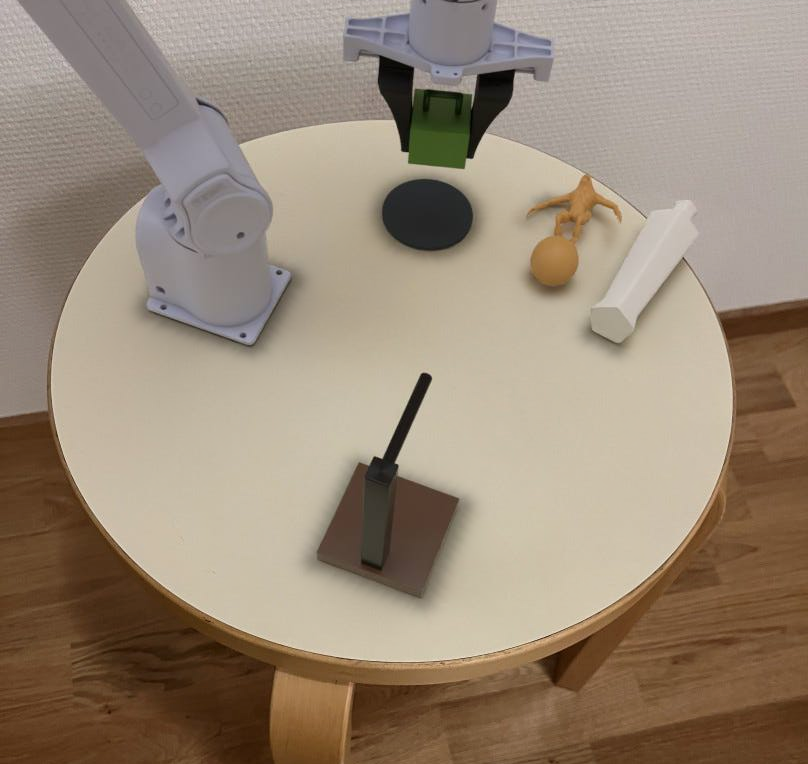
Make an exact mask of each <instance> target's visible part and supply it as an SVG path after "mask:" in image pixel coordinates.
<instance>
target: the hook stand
mask: <svg viewBox="0 0 808 764" xmlns="http://www.w3.org/2000/svg"><path fill="white" fill-rule="evenodd" d="M432 381H433V377H432V375H431V374H430V373H428V372H422V373H420V375H419V377H418V379H417V381H416V383H415V386H414V387H413V389H412V392H411V394H410V397H409V399H408V401H407V402H406V405H405V408H404V409H403V411H402V414H401V416H400V419H399V420H398V423H397V425H396V428H395V430H394V432H393V434H392V436H391V438H390V440H389V443H388V445H387V447H386V449H385V452H384V454H383V456H382V458H381V457H379V456H376V455H374V456H373V457H372V459H371V461H370V462H369V463H370V464H365V463H363V462H360V461H359V462H358V463H357V465H356V467H355V469H354V471H353V474H352V475H351V477H350V480H349V482H348V484H347V487H346V489H345V491H344V492H343V495H342V497H341V499H340V502H339V504H338V505H337V508H336V510H335V512H334V514H333V516H332V518H331V521H330V523H329V525H328V527H327V529H326V531H325V534H324V535H323V538H322V540H321V542H320V544H319V546H318V548H317V551H316V559H317V560H318V561H321V562H325V563H327V564H329V565H332V566H334V567H338V568H339V569H343V570H345V571H348V572H351V573H353V574H356V575H358V576H361V577H364V578H366V579H369V580H372V581H375V582H376V583H380V584H381V585H382V584H383V585H385V586H387V587H390V588H393V589H396V590H398V591H400V592H404V593H407V594H409V595H411V596H414V597H416V598H422V596H423V594H424V591H425V589H426V586H427V584H428V582H429V579H430V577H431V573H432V572H433V569H434V566H435V564H436V562H437V559H438V556H439V554H440V551H441V549H442V547H443V544H444V541H445V539H446V537H447V534H448V531H449V530H450V527H451V524H452V521H453V519H454V516H455V514H456V511H457V509H458V507H459V504H460V503H459V502H460V498H459V497H456V496H454V495H451V494H448V493H447V492H446V493H445V492H443V491H440V490H437V489H434V488H432V487H429V486H427V485H424V484H421V483H418V482H415V481H412V480H410V479H407V478H404V477H401V476H399V468H400V465H399V464H398V463H396V462H397V460H398V457H399V455H400V453H401V451H402V448H403V447H404V444H405V441H406V439H407V437H408V435H409V433H410V431H411V428H412V426H413V423H414V422H415V419H416V417H417V415H418V413H419V410H420V408H421V405H422V404H423V401H424V399H425V397H426V394H427V392H428V390H429V389H430V385H431V383H432Z"/></svg>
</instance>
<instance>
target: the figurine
mask: <svg viewBox="0 0 808 764" xmlns="http://www.w3.org/2000/svg"><path fill="white" fill-rule="evenodd" d="M564 203H569V211H568V210H567V209H562V210H561V211H560V213H557V214H556V215H555V219H554V220H555V226H554V229H553V233H554V235H551V236H547V237H545V238H543V239H541V240H540V241H539V242H538V243H537V244H536V245H535V246H534V248H533V250H532V252H531V254H530V255H531V256H530V261H529V263H530V264H529V265H530V269H531V272H532V274H533V276H534V277H535V278H536V280H537V281H538V282H539V283H542V284H544V285H547V286H552V287H556V286H561V285H564V284H565V283H567V282H568V281H570V280H571V279H572V278H573V276H575V274H576V272H577V270H578V267H579V263H580V262H579V261H580V260H579V259H580V257H579V252H578V250H577V248H576V245H575V244H576V243H577V241H578V239H580V236H581V235H582V230H581V227H583V226H585V225H586V224H587V223H589V222H590V221H591V218H592V212H591V210H592V209H594V207H595V206H597V205H600V206H603V207H605V208H608V209H610V210H612V211H613V213H614V216H616V220H617V222H618V223H619V224H621V223H622V219H623V216H622V213H621V211H620V209H619V206H618V205H617V204H616V203H615V202H614V201H612V200H611V199H610V200H609V199H608V198H605V197H604V196H602V195H601V194H599V193H598V192H597V191H596V190H595V188H594V185H593V180H592V178H591V175H589V174H586V173H585V174H584V175H582V177H581V178H580V180H579V183H578V185H577V187H576V188H575V189H573V190H572V191H570V192H568V193H565V194H563V195H560V196H556V197H553V198H549V199H548V200H545V201H544V202H542V203H538V204H536V205H535V206H533V207H531V209H529V210H528V212H527V213H526V218H527V217H528V216H529V215H530V214H532V213H533V212H536V211H539V210H543V209H545V208H547V207H549V206H553V205H560V204H564ZM569 222H573V223H575V226H574V228H573V229H572V235H571V236H572V238H571V239H569V238H566V237H564V236H562V235H563V228H562V226H561V225H565V224H568V223H569Z"/></svg>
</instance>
